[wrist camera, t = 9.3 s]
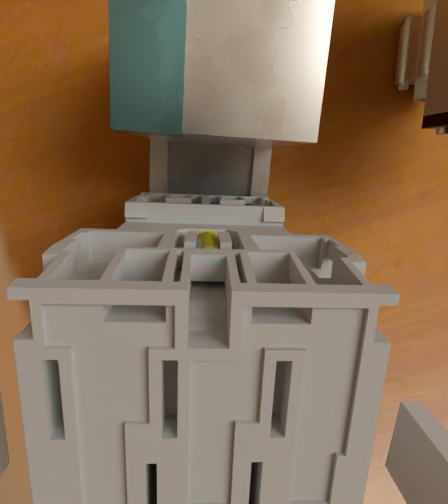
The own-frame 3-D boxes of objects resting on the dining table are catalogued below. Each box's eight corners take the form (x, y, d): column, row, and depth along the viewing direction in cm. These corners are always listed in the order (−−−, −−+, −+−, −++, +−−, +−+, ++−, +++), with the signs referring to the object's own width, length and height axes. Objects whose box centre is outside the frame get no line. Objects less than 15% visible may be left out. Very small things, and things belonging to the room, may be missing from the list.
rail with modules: (154, 31, 21) (107, -92, 10) (275, 42, 21) (344, -64, 11) (148, 477, 29) (118, 654, 19) (235, 477, 29) (253, 649, 19)
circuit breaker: (145, 400, 25) (63, 749, 10) (141, 192, 21) (3, 273, 6) (253, 400, 25) (321, 732, 11) (267, 196, 21) (402, 281, 7)
